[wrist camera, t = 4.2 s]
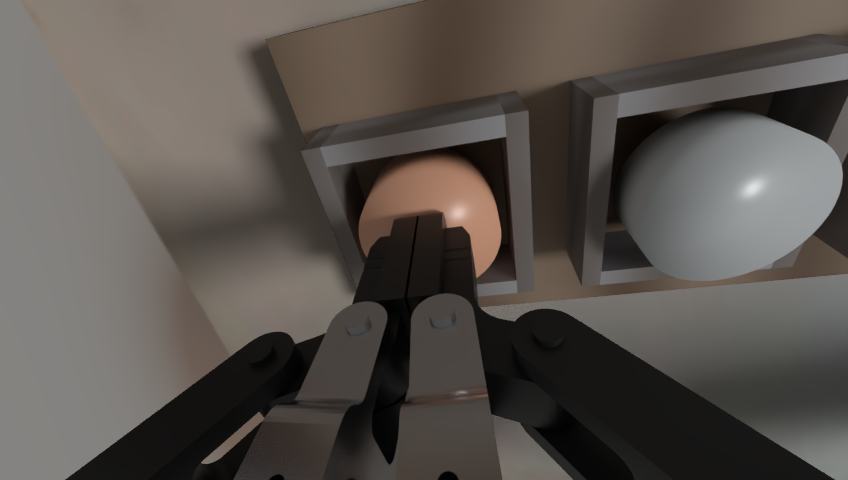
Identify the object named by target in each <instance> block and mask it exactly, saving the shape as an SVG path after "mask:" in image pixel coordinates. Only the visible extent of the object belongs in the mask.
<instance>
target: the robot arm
mask: <svg viewBox="0 0 848 480" xmlns="http://www.w3.org/2000/svg"><path fill="white" fill-rule="evenodd" d="M366 260H367V262H365V266H364V269H363V270H364V272H362V275H361V278H360V281H359V284H358V288H357V291H356V294H355V297H354V300H353V303H352V305H350V306H348V307H346V308H345V309H343V310H342V311H340V312H339V313H338V314H337V315H336V316H335V317H334V318H333V320H332V321H331V323H330V325H329V327H328V329H327V332H326V333H325V334H323V335H320V336H317V337H315V338H312V339H309V340H306V341H303V342H300V343H298V344H295V342H294V341H293V339H292V338H291V337H290V335H288V334H287V333H284V332H272V333H267V334H264V335H262V336H260V337H258V338H256V339H254V340H253V341H251V342H250V343H248V344H247V345H246V346H244V347H243V348H242V349H240V350H239V351H238V352H236V353H235V354H234V355H232V356H231V357H230V358H228V359H227V360H225V361H224V362H223V363H221V364H220V365H219V366H218V367H216V368H215V369H214V370H212V371H211V372H209V373H208V374H207V375H205V376H204V377H203V378H201V379H200V380H199V381H197V382H196V383H195V384H193V385H192V386H191V387H189V388H188V389H187V390H185V391H184V392H182V394H180V395H178V396H177V397H176V398H174V399H173V400H172V401H171V402H169V403H168V404H166V405H165V406H164V407H162V408H161V409H160V410H158V411H157V412H156V413H154V414H153V415H152V416H150V417H149V418H148V419H146V420H145V421H144V422H142V423H141V424H140V425H138V426H137V427H136V428H134V429H133V430H131V431H130V432H129V433H127V434H126V435H125V436H123V437H122V438H121V439H119V440H118V441H117V442H115V443H114V444H113V445H111V446H110V447H109V448H107V449H106V450H105V451H103V452H102V453H101V454H99V455H98V456H97V457H95V458H94V459H93V460H91V461H90V462H88V463H87V464H86V465H85V466H83V467H82V468H81V469H79V470H78V471H76V472H75V473H74V474H72V475H71V476H70V477H68V478H67V479H66V480H502V474H501V468H500V462H499V456H498V451H497V445H496V439H495V433H494V427H493V421H492V415H491V414H493V415H496V416H500V417H503V418H506V419H510V420H513V421H517V422H520V423H521V425H522V426H523V428H524V429H525V431H526V432H527V433H528V434H529V435H530V436H531V437H532V438H533V439H534V440H535V441H536V442H537V443H538V444H539V445H540V446H541V447H542V448H543V449H544V450H545V451H546V452H547V453H548V454H549V455H550V456H551V457H552V458H553V459H554V460H555V461H556V462H557V463H558V464H559V465H560V466H561V467H562V469H563V470H564V471H565V472H566V473H567V474H568V475H569V476H570V477H571V478H572V479H573V480H834V479H833V478H831V477H830V476H828V475H826V474H825V473H823V472H822V471H820V470H818V469H817V468H815V467H814V466H812V465H810V464H809V463H807V462H805V461H804V460H802V459H801V458H799V457H797V456H796V455H794V454H793V453H791V452H789V451H788V450H786V449H785V448H783V447H781V446H780V445H778V444H776V443H775V442H773V441H772V440H770V439H768V438H767V437H765V436H764V435H762V434H760V433H759V432H757V431H756V430H754V429H752V428H751V427H749V426H748V425H746V424H744V423H743V422H741V421H739V420H738V419H736V418H735V417H733V416H731V415H730V414H728V413H727V412H725V411H723V410H722V409H720V408H719V407H717V406H715V405H714V404H712V403H710V402H709V401H707V400H706V399H704V398H702V397H701V396H699V395H698V394H696V393H694V392H693V391H691V390H690V389H688V388H686V387H685V386H683V385H681V384H680V383H678V382H677V381H675V380H673V379H672V378H670V377H669V376H667V375H665V374H664V373H662V372H661V371H659V370H657V369H656V368H654V367H652V366H651V365H649V364H648V363H646V362H644V361H643V360H641V359H640V358H638V357H636V356H635V355H633V354H632V353H630V352H628V351H627V350H625V349H624V348H622V347H620V346H619V345H617V344H615V343H614V342H612V341H611V340H609V339H607V338H606V337H604V336H603V335H601V334H599V333H598V332H596V331H595V330H593V329H591V328H590V327H588V326H586V325H585V324H583V323H582V322H580V321H578V320H577V319H575V318H574V317H572V316H570V315H568V314H566V313H564V312H561V311H558V310H553V309H537V310H533V311H529V312H527V313H525V314H523V315H522V316H520V317H519V318H518V319H517V320H516V321H515V322H514V321H508V320H503V319H499V318H495V317H493V316H491V315H489V314H487V313H485V312H484V311H483V310H482V309H481V308H480V307H479V303H478V291H477V279H476V271H475V264H474V258H473V251H472V245H471V238H470V234H469V233H468V232H467V231H466V230H465V229H464V227H463V226H459V227H451V228H447V226H446V221H445V215H444V213H443V212H440V213H433V214H426V215H420V216H412V217H405V218H397V219H394V221H393V225H392V229H391V233H390V236H383V237H379V239H378V240H377V241H376V242H375V243H374V244H373V245H372V246H371V247H370V250H369V253H368V256H367V259H366ZM258 412H260V413H261V414H262V416H263V417H264V418H265V419H264V420H263V421H262V422H261V423H260V424H259V425H258V426H256V427H255V428H254V429H253V430H252V431H251V432H250V433H248V434H247V435H246V436H245V437H244V438H243V439H242V440H241V441H240V442H238V443H237V444H236V445H235V446H234V447H233V448H232V449H231V450H229V452H227V453H226V454H225V455H224V456H223V457H222V458H221V459H219V460H217V461H215V462H213V463H210V464H202V463H201V462H202V461H203V460H204V459H205V458H206V457H207V456H208V455H210V454H211V453H212V452H213V451H214V450H215V449H217V448H218V447H219V446H220V445H221V444H222V443H223V442H224V441H226V440H227V439H228V438H229V437H230V436H231V435H233V434H234V432H236V431H237V430H238V429H239V428H241V427H242V426H243V425H244V424H245V423H246V422H247V421H249V420H250V419H251V418H252V417H253V416H254V415H255V414H257V413H258Z"/></svg>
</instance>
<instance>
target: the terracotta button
mask: <svg viewBox="0 0 848 480" xmlns="http://www.w3.org/2000/svg"><path fill="white" fill-rule="evenodd" d="M440 212H443V213H444V215H445V221H446V226H447V228H451V227H459V226H463V227H464V229H465V230H466V231H467V232H468V233H469V234H470V238H471V245H472V251H473V258H474V264H475V271H476V278H477V277H479V276H480V275H481V274H482V273H484V272H485V271H486V270H487V269H488V267H489V266H490V265H491V264H492V262H493V261H494V259H495V257H496V255H497V253H498V250H499V247H500V242H501V226H500V221H499V216H498V211H497V206H496V201H495V196H494V190H493V188H492V185H491V182H490V180H489V178H488V176H487V175H486V174H485V172H484V171H483V170H482V168H481V167H480V166H479V165H478V164H477V163H475V162H474V161H473V160H472V159H470V158H469V157H467V156H465V155H464V154H461V153H459V152H457V151H454V150H451V149H447V148H437V149H431V150H425V151H419V152H413V153H407V154H401V155H398V156H396V157H395V158H393V159H392V160H391V161H389V162H388V163H387V164H386V165H385V166H384V167H383V168H382V170H381V171H380V172H379V174H378V176H377V177H376V179H375V181H374V184H373V186H372V189H371V191H370V194H369V196H368V198H367V201H366V203H365V206H364V208H363V211H362V214H361V216H360V221H359V239H360V243H361V247H362V249H363V251H364V254H365V255H366V257H367V256H368V253H369V250H370V247H371V246H372V245H373V244H374V243H375V242H376V241H377V240H378V239H379V237H383V236H390V233H391V229H392V225H393V221H394V219H397V218H405V217H412V216H420V215H426V214H433V213H440Z"/></svg>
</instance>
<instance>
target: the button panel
mask: <svg viewBox="0 0 848 480" xmlns="http://www.w3.org/2000/svg"><path fill="white" fill-rule="evenodd" d="M265 40H266V43H267V45H268V48H269V50H270V53H271V55H272V58H273V60H274V63H275V65H276V68H277V70H278V73H279V76H280V78H281V81H282V83H283V86H284V88H285V91H286V93H287V96H288V98H289V101H290V103H291V106H292V108H293V111H294V113H295V116H296V119H297V121H298V124H299V126H300V129H301V131H302V134H303V136H304V139H305V141H306V144H307V145H306V146H305V147H304V148H303V149H302V150H301V154H302V156H303V159H304V161H305V163H306V166H307V168H308V171H309V173H310V176H311V178H312V181H313V183H314V185H315V188H316V190H317V193H318V195H319V198H320V200H321V203H322V205H323V207H324V210H325V212H326V215H327V217H328V220H329V222H330V224H331V227H332V229H333V232H334V234H335V237H336V239H337V242H338V244H339V246H340V249H341V251H342V254H343V256H344V259H345V261H346V264H347V266H348V268H349V271H350V273H351V276H352V278H353V281H354V283H355V285H356V288H358V284H359V281H360V278H361V275H362V272H364V270H363V269H364V266H365V262H367V260H366V259H367V257H366V255H365V254H364V251H363V249H362V247H361V243H360V239H359V221H360V216H361V214H362V211H363V208H364V206H365V203H366V201H367V198H368V196H369V194H370V191H371V189H372V186H373V184H374V181H375V179H376V177H377V176H378V174H379V172H380V171H381V170H382V168H383V167H384V166H385V165H386V164H387V163H388V162H389V161H391V160H392V159H393V158H395V157H396V156H398V155H401V154H407V153H413V152H419V151H425V150H431V149H437V148H447V149H451V150H454V151H457V152H459V153H461V154H464V155H465V156H467V157H469V158H470V159H472V160H473V161H474V162H475V163H477V164H478V165H479V166H480V167H481V168H482V170H483V171H484V172H485V174H486V175H487V176H488V178H489V180H490V182H491V185H492V188H493V190H494V196H495V201H496V206H497V211H498V216H499V221H500V226H501V242H500V247H499V250H498V253H497V255H496V257H495V259H494V261H493V262H492V264H491V265H490V266H489V267H488V269H487V270H486V271H485V272H484V273H482V274H481V275H480V276H479V277H477V278H476V279H477V291H478V303H479V307H487V306H498V305H509V304H520V303H531V302H542V301H553V300H564V299H575V298H586V297H597V296H608V295H619V294H630V293H641V292H652V291H663V290H674V289H685V288H696V287H707V286H718V285H729V284H740V283H751V282H762V281H773V280H784V279H795V278H806V277H817V276H828V275H839V274H848V0H424V1H420V2H416V3H412V4H408V5H404V6H400V7H395V8H391V9H387V10H383V11H379V12H375V13H370V14H366V15H362V16H358V17H354V18H350V19H346V20H341V21H337V22H333V23H329V24H325V25H321V26H316V27H312V28H308V29H304V30H300V31H296V32H292V33H288V34H284V35H280V36H276V37H273V38H269V39H265ZM712 107H738V108H744V109H747V110H750V111H753V112H756V113H758V114H761V115H763V116H766V117H768V118H770V119H773V120H775V121H778V122H780V123H783V124H785V125H788V126H790V127H792V128H795V129H797V130H800V131H802V132H805V133H807V134H810V135H812V136H814V137H816V138H818V139H820V140H822V141H824V142H825V143H826V144H828V145H829V146H830V147H831V148H832V149H833V150H834V152H835V153H836V154H837V156H838V158H839V160H840V163H841V166H842V172H843V179H842V187H841V191H840V194H839V197H838V199H837V201H836V204H835V206H834V207H833V209H832V211H831V212H830V214H829V216H828V217H827V218H826V219H825V221H824V222H823V223H822V225H821V226H820V227H819V228H818V229H817V230H816V231H815V232H814V233H813V234H812V235H811V236H810V237H809V238H808V239H807V240H805V241H804V242H803V243H802V244H801V245H799V246H798V247H797V248H795V249H794V250H793V251H791V252H789V253H788V254H786V255H785V256H783V257H782V258H780V259H778V260H776V261H774V262H772V263H771V264H768V265H766V266H764V267H762V268H760V269H757V270H754V271H752V272H749V273H746V274H743V275H739V276H736V277H732V278H727V279H721V280H714V281H690V280H683V279H679V278H675V277H672V276H669V275H667V274H665V273H663V272H661V271H660V270H658V269H657V268H656V267H654V266H653V265H652V264H651V263H650V261H649V260H648V259H647V258H646V256H645V255H644V253H643V252H642V251H641V249H640V248H639V246H638V245H637V244H636V242H635V241H634V239H633V238H632V237H631V235H630V234H629V232H628V231H627V230H626V228H625V227H624V226H623V224H622V223H621V221H620V220H619V218H618V216H617V214H616V211H615V207H614V189H615V184H616V181H617V178H618V175H619V173H620V171H621V169H622V167H623V165H624V164H625V162H626V161H627V159H628V158H629V156H630V155H631V154H632V153H633V151H634V150H635V149H636V148H637V147H638V146H639V145H640V144H641V143H642V142H643V141H644V140H645V139H646V138H647V137H649V136H650V135H651V134H652V133H653V132H655V131H656V130H658V129H659V128H661V127H662V126H664V125H666V124H667V123H669V122H671V121H673V120H674V119H677V118H679V117H681V116H683V115H686V114H689V113H692V112H695V111H698V110H702V109H707V108H712Z"/></svg>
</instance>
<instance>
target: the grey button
mask: <svg viewBox="0 0 848 480" xmlns="http://www.w3.org/2000/svg"><path fill="white" fill-rule="evenodd" d="M842 179H843V172H842V166H841V163H840V160H839V158H838V156H837V154H836V153H835V152H834V150H833V149H832V148H831V147H830V146H829V145H828V144H826V143H825V142H824V141H822V140H820V139H818V138H816V137H814V136H812V135H810V134H807V133H805V132H802V131H800V130H797V129H795V128H792V127H790V126H788V125H785V124H783V123H780V122H778V121H775V120H773V119H770V118H768V117H766V116H763V115H761V114H758V113H756V112H753V111H750V110H747V109H744V108H738V107H712V108H707V109H702V110H698V111H695V112H692V113H689V114H686V115H683V116H681V117H679V118H677V119H674V120H673V121H671V122H669V123H667V124H666V125H664V126H662V127H661V128H659V129H658V130H656V131H655V132H653V133H652V134H651V135H650V136H649V137H647V138H646V139H645V140H644V141H643V142H642V143H641V144H640V145H639V146H638V147H637V148H636V149H635V150H634V151H633V153H632V154H631V155H630V156H629V158H628V159H627V161H626V162H625V164H624V165H623V167H622V169H621V171H620V173H619V175H618V178H617V181H616V184H615V189H614V207H615V211H616V214H617V216H618V218H619V220H620V221H621V223H622V224H623V226H624V227H625V228H626V230H627V231H628V232H629V234H630V235H631V237H632V238H633V239H634V241H635V242H636V244H637V245H638V246H639V248H640V249H641V251H642V252H643V253H644V255H645V256H646V258H647V259H648V260H649V261H650V263H651V264H652V265H653V266H654V267H656V268H657V269H658V270H660V271H661V272H663V273H665V274H667V275H669V276H672V277H675V278H679V279H683V280H690V281H714V280H721V279H727V278H732V277H736V276H739V275H743V274H746V273H749V272H752V271H754V270H757V269H760V268H762V267H764V266H766V265H768V264H771V263H772V262H774V261H776V260H778V259H780V258H782V257H783V256H785V255H786V254H788V253H789V252H791V251H793V250H794V249H795V248H797V247H798V246H799V245H801V244H802V243H803V242H804V241H805V240H807V239H808V238H809V237H810V236H811V235H812V234H813V233H814V232H815V231H816V230H817V229H818V228H819V227H820V226H821V225H822V223H823V222H824V221H825V219H826V218H827V217H828V216H829V214H830V212H831V211H832V209H833V207H834V206H835V204H836V201H837V199H838V197H839V194H840V191H841V187H842Z"/></svg>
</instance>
